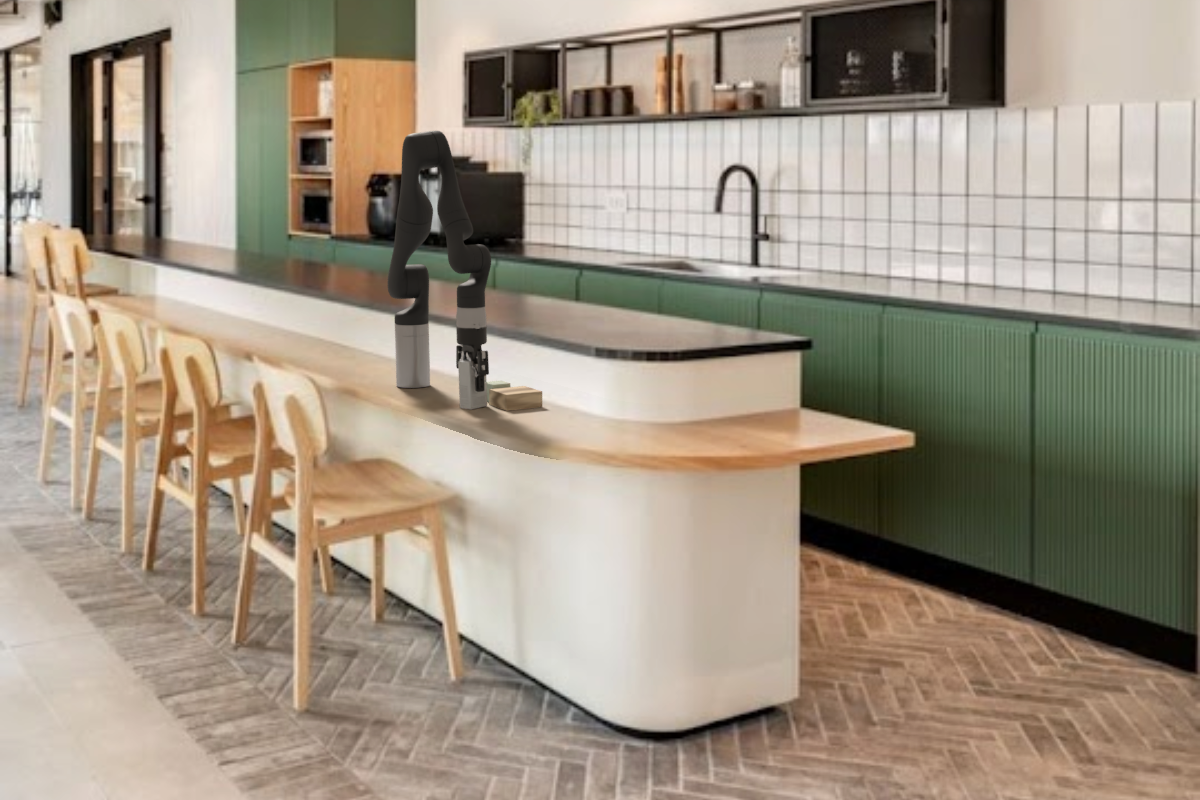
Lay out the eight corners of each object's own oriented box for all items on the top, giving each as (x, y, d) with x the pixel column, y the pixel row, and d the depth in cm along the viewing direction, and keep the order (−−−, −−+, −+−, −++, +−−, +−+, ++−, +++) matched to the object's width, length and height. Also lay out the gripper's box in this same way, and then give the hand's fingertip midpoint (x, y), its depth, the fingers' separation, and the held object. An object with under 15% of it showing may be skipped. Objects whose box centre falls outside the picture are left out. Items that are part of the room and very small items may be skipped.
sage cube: (484, 401, 378) (484, 382, 377) (502, 399, 380) (501, 380, 379) (493, 404, 374) (492, 384, 373) (510, 402, 376) (510, 383, 375)
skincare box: (475, 404, 372) (474, 358, 370) (487, 406, 370) (486, 359, 368) (458, 408, 368) (457, 360, 366) (470, 409, 365) (469, 362, 363)
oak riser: (489, 404, 372) (489, 389, 371) (524, 401, 377) (524, 385, 376) (506, 410, 363) (506, 394, 363) (542, 407, 368) (542, 391, 368)
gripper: (446, 323, 369) (447, 386, 372) (469, 328, 357) (471, 394, 360) (473, 321, 373) (474, 383, 376) (497, 326, 361) (498, 391, 364)
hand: (472, 388), depth 368 cm, fingers open, 8 cm apart
